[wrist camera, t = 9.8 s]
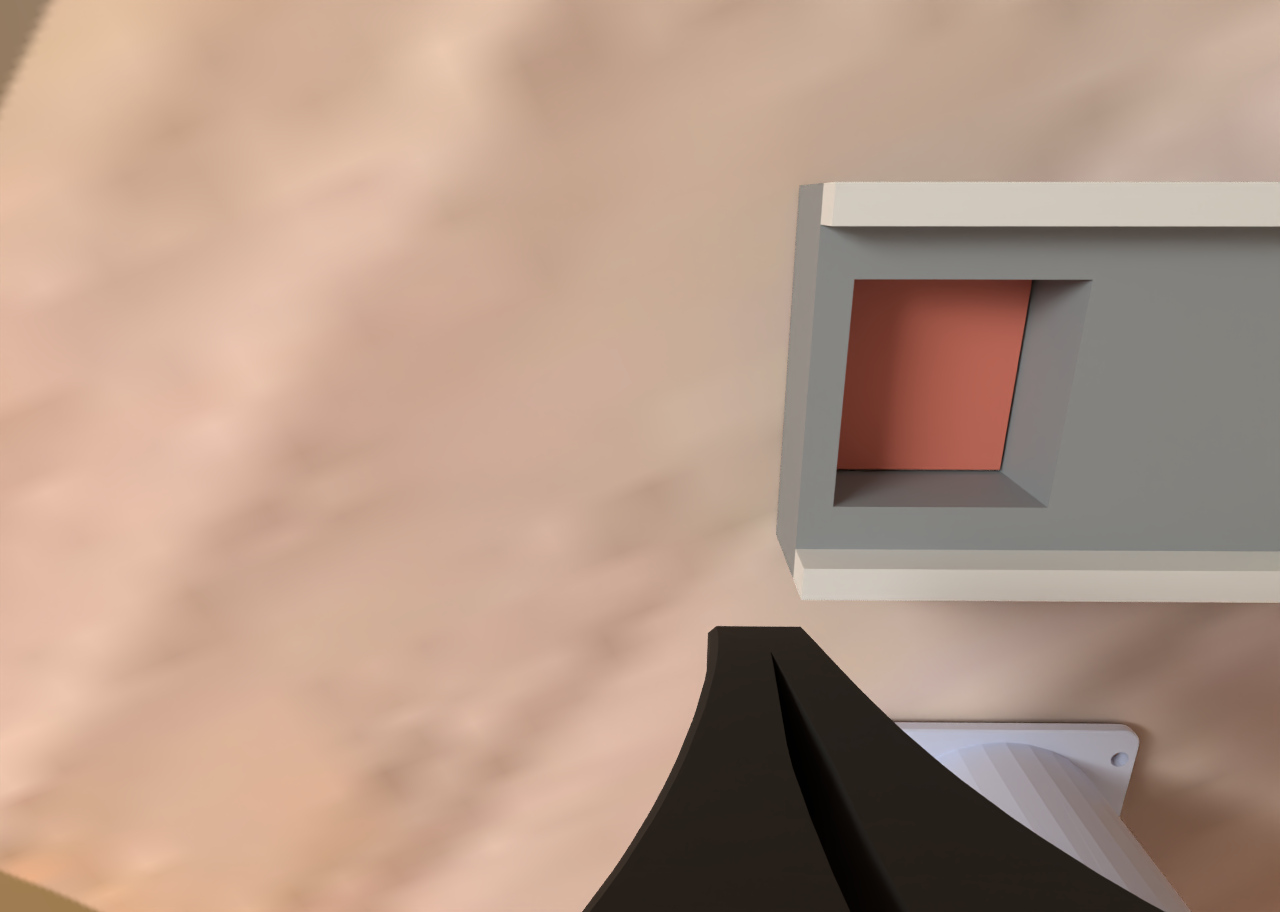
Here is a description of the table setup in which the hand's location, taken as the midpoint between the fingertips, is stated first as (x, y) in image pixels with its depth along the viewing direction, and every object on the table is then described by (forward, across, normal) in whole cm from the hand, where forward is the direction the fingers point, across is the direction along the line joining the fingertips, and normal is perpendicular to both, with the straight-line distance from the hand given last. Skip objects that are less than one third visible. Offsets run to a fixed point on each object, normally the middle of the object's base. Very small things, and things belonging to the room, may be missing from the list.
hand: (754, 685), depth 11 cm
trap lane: (+9, -14, -2) cm, 17 cm away
